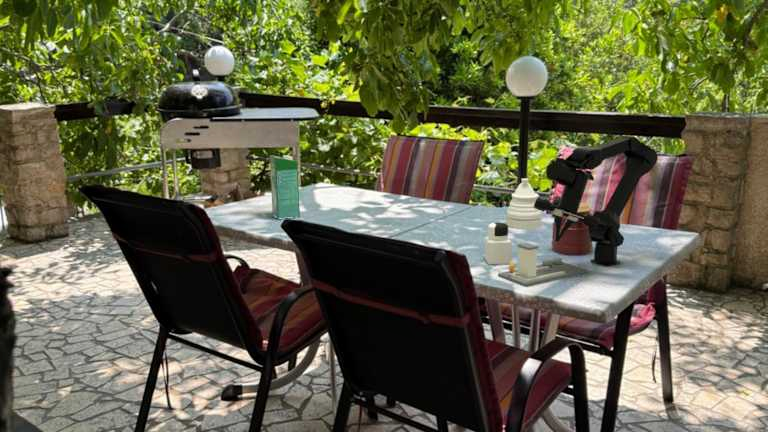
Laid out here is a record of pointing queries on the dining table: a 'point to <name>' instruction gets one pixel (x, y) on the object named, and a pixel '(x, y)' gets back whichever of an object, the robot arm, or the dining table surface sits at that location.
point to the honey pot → (524, 208)
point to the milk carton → (284, 186)
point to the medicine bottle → (498, 244)
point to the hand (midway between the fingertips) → (556, 241)
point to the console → (544, 272)
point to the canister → (574, 236)
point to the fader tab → (527, 260)
